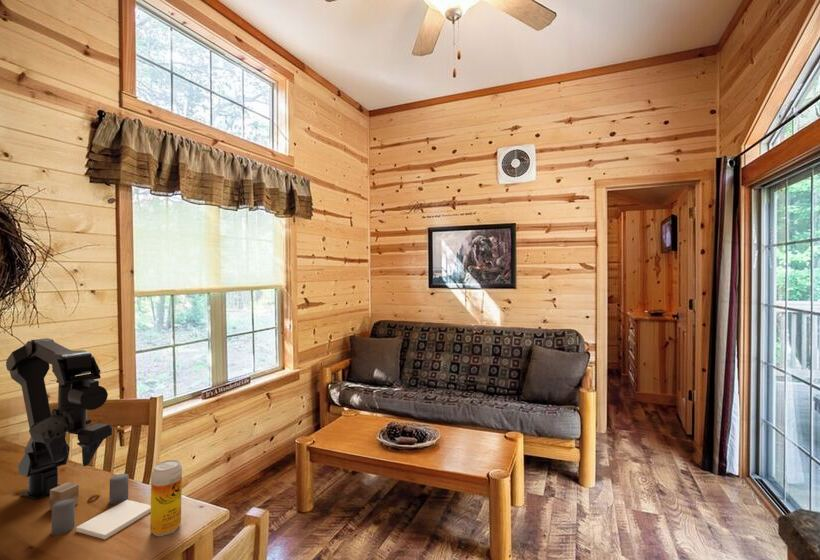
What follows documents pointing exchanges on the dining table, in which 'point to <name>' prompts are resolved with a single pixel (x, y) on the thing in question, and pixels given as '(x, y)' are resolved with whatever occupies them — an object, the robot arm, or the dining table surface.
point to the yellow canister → (166, 497)
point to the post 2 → (118, 489)
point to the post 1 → (63, 517)
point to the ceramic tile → (114, 519)
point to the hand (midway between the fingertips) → (70, 463)
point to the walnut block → (64, 493)
